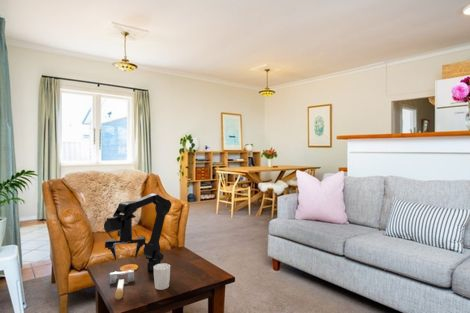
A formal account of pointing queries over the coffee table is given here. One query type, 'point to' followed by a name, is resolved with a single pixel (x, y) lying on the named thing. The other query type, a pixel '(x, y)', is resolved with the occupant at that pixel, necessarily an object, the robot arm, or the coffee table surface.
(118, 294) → the white elongated bar
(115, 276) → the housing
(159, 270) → the white cup
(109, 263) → the coffee table surface
